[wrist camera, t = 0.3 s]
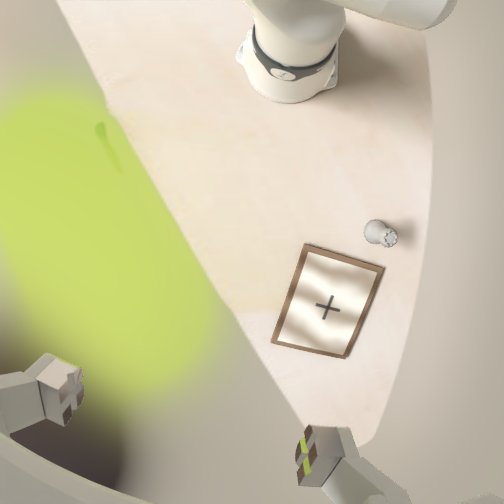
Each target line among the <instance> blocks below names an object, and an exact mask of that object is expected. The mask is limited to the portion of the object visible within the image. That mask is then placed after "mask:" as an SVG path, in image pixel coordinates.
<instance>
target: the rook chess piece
mask: <svg viewBox="0 0 504 504" xmlns="http://www.w3.org/2000/svg"><path fill="white" fill-rule="evenodd" d="M364 237H365V238H366V240H367V241H368V242H370V243H372V244H379V243H381V244H382V245H383V246H384V247H388V248H389V247H392V246H393V245H394V244H396V242H397V238H398V237H397V233H396V232H395V230H394V229H392V228H386V226H385V225H384V223H382V222H381V221H379V220H371V221H369V222H368V223H367V224H366V226H365V228H364Z"/></svg>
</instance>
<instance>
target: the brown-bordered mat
mask: <svg viewBox="0 0 504 504" xmlns="http://www.w3.org/2000/svg"><path fill="white" fill-rule="evenodd" d="M382 271H383V268H381V267H378V266H375V265H372V264H369V263H366V262H363V261H359V260H356V259H353V258H350V257H347V256H343V255H340V254H337V253H334V252H330V251H327V250H324V249H321V248H317V247H314V246H311V245H307V244H304V246H303V249H302V252H301V255H300V258H299V261H298V264H297V267H296V270H295V273H294V276H293V279H292V282H291V285H290V288H289V291H288V293H287V296H286V299H285V302H284V305H283V308H282V311H281V313H280V316H279V319H278V322H277V325H276V327H275V330H274V333H273V336H272V338H271V343H273V344H277V345H282V346H286V347H290V348H294V349H299V350H303V351H307V352H312V353H317V354H321V355H326V356H331V357H336V358H341V359H346V357H347V354H348V352H349V350H350V348H351V346H352V344H353V341H354V339H355V337H356V335H357V333H358V330H359V328H360V326H361V323H362V321H363V319H364V316H365V314H366V312H367V309H368V307H369V304H370V302H371V299H372V297H373V294H374V292H375V289H376V287H377V284H378V281H379V279H380V276H381V273H382Z"/></svg>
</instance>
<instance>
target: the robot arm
mask: <svg viewBox="0 0 504 504" xmlns="http://www.w3.org/2000/svg"><path fill="white" fill-rule="evenodd" d="M242 1H243V2H244V3H245V4H246V5H247V6H248V7H249V9H250V10H251V11H252V13H253V16H254V23H255V24H254V26H253V28H250V29H249V31H248V33H247V34H248V36H247V37H246V39H245V40H244V42H243V43H242V45H241V46H240V48H239V49H238V51H237V53H236V60H237V61H238V62H239V63H240V64H241V65H242V66H243V67H244V68H245V70H246V73H247V76H248V78H249V80H250V82H251V84H252V85H253V87H254V88H255V89H256V90H257V91H258V92H259V93H260V94H262V95H263V96H265V97H267V98H268V99H271V100H273V101H276V102H281V103H297V102H302V101H305V100H307V99H309V98H311V97H312V96H314V95H315V94H317V93H318V92H320V91H322V90H327V89H331V88H333V87H335V86H336V84H337V79H338V38H339V37H340V35H341V33H342V32H343V29H344V27H345V23H346V15H345V10H344V8H347V9H350V10H352V11H355V12H358V13H360V14H363V15H366V16H368V17H371V18H373V19H378V20H381V21H385V22H389V23H393V24H396V25H400V26H404V27H408V28H411V29H415V30H424V29H428V28H431V27H433V26H435V25H437V24H439V23H441V22H442V21H443V20H445V19H446V18H447V17H448V16H449V14H451V12H452V11H453V9H454V7H455V5H456V3H457V0H242ZM331 76H333V77H331ZM82 377H83V371H82V369H81V368H80V367H78V366H76V365H74V364H71V363H69V362H67V361H65V360H63V359H60V358H58V357H55V356H54V355H51V354H50V353H46V354H44V355H43V356H42V357H40V358H39V359H38V360H37V361H36V362H35V363H34V364H33V365H32V366H31V367H29V369H27V370H26V371H25V372H24V373H22V372H16V373H10V374H5V375H0V504H154V503H151V502H148V501H144V500H141V499H138V498H135V497H132V496H129V495H126V494H123V493H120V492H118V491H115V490H112V489H109V488H107V487H104V486H102V485H99V484H97V483H94V482H92V481H90V480H87V479H85V478H83V477H80V476H78V475H76V474H74V473H72V472H70V471H67V470H65V469H63V468H61V467H59V466H57V465H55V464H53V463H51V462H49V461H48V460H46V459H44V458H42V457H40V456H38V455H37V454H35V453H33V452H32V451H30V450H28V449H26V448H25V447H23V446H21V445H20V444H18V443H17V442H15V441H13V440H12V439H11V438H10V436H9V434H10V433H12V432H15V431H17V430H19V429H22V428H24V427H27V426H29V425H32V424H34V423H36V422H39V421H41V420H43V419H45V418H47V419H49V420H52V421H54V422H56V423H58V424H60V425H62V426H65V425H66V424H67V423H68V421H69V420H70V418H71V417H72V410H74V409H77V408H78V407H79V405H80V404H81V402H82V400H83V396H84V386H83V384H82V382H81V381H80V380H81V379H82ZM304 435H305V437H304V438H302V439H301V440H300V441H299V443H298V445H297V448H296V453H295V461H296V464H297V465H298V466H299V467H300V468H299V469H298V471H297V477H298V485H299V486H309V487H321V489H322V490H323V491H324V493H325V494H326V495H327V496H328V497H329V499H330V500H331V501H332V502H333V503H334V504H412V503H411V501H410V499H409V496H408V494H407V491H406V490H405V489H403V488H402V487H401V486H399V485H398V484H397V483H395V482H394V481H393V480H391V479H390V478H389V477H387V476H386V475H385V474H384V473H382V472H381V471H380V470H378V469H377V468H376V467H375V466H373V465H372V464H371V463H370V462H368V461H367V460H366V459H364V458H360V456H359V453H358V451H357V448H356V445H355V442H354V439H353V436H352V433H351V431H350V429H349V428H348V427H336V426H335V427H333V426H319V425H308V426H307V427H306V429H305V431H304ZM455 504H504V499H502V498H500V497H498V496H496V495H494V494H491V493H487V494H483V495H480V496H477V497H475V498H471V499H468V500H465V501H462V502H459V503H455Z"/></svg>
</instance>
